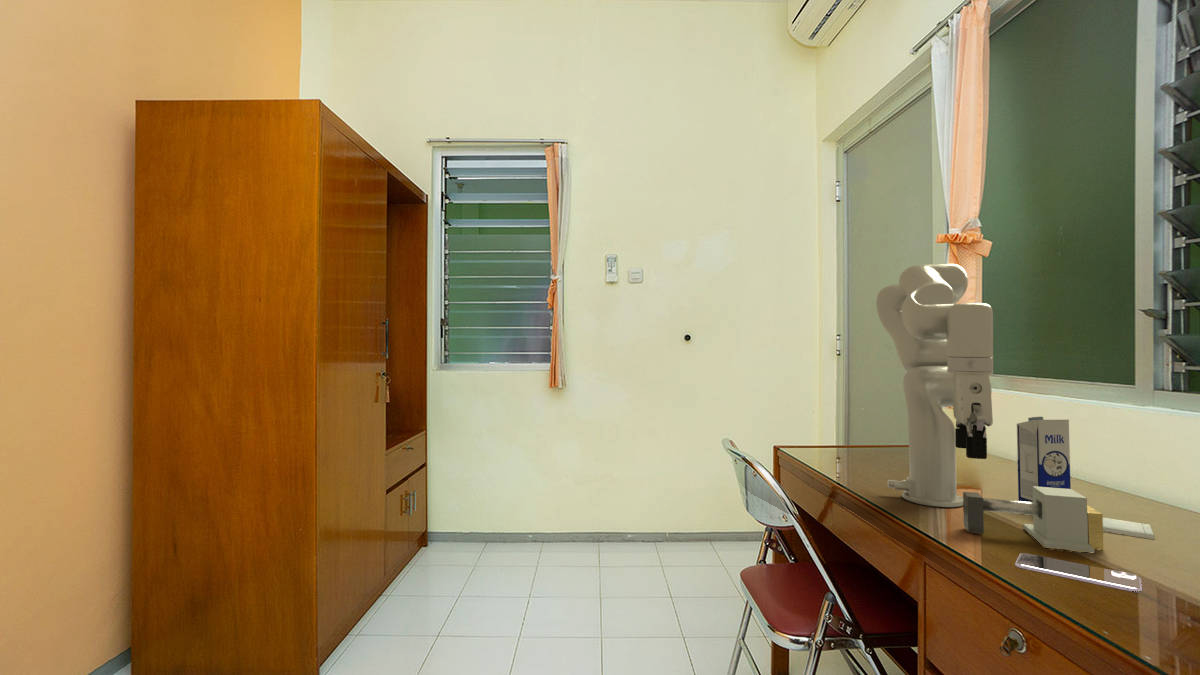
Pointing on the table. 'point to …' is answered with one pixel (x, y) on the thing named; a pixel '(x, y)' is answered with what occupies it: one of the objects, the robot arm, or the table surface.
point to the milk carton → (1042, 455)
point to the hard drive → (1127, 528)
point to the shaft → (992, 509)
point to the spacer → (1095, 528)
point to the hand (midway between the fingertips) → (970, 453)
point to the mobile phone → (1080, 572)
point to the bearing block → (1060, 519)
